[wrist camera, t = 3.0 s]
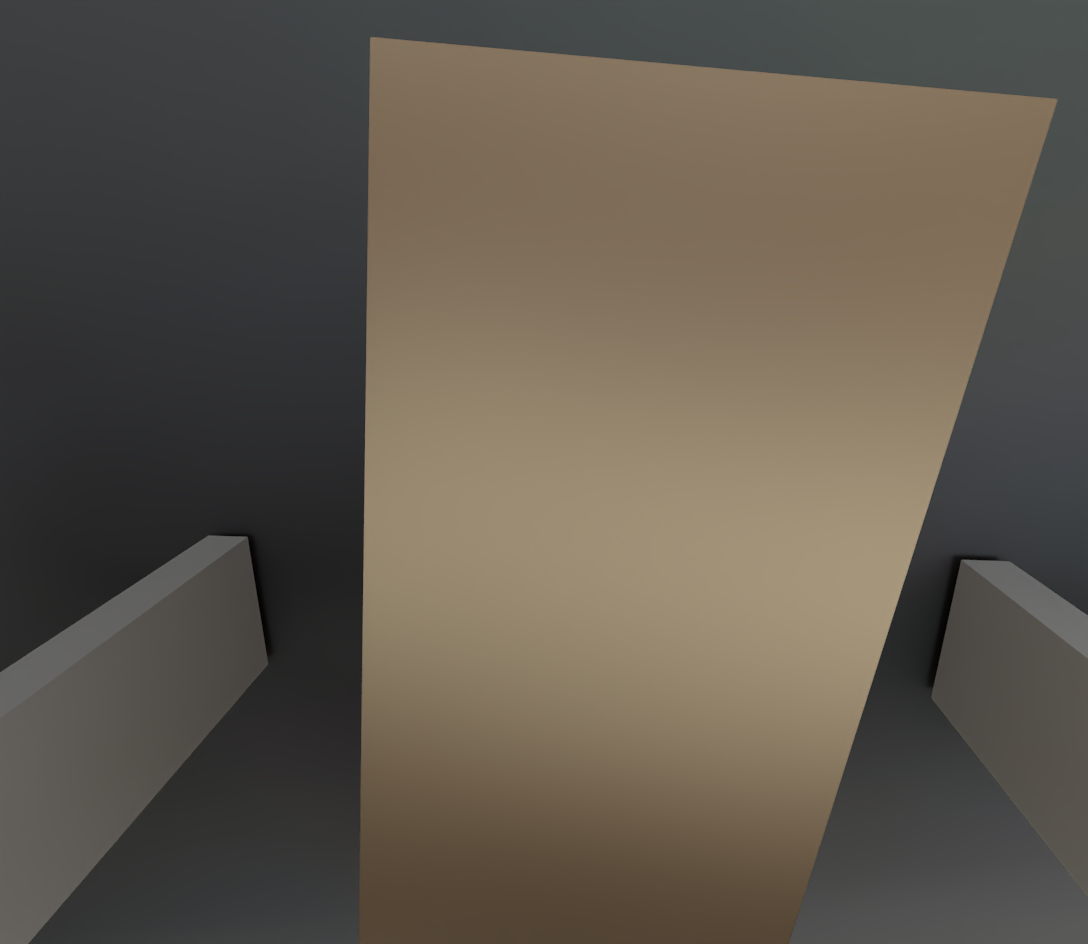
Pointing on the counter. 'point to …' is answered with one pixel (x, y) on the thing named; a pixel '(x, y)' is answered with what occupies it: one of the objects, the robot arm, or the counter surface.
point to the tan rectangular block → (646, 471)
